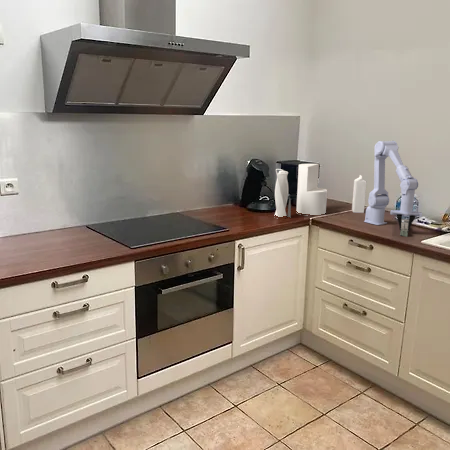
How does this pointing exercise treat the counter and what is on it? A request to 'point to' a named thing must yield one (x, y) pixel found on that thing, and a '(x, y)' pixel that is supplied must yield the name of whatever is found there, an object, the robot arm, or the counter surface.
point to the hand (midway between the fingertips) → (404, 229)
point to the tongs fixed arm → (405, 227)
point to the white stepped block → (310, 191)
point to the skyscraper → (282, 194)
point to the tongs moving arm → (402, 228)
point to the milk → (359, 195)
